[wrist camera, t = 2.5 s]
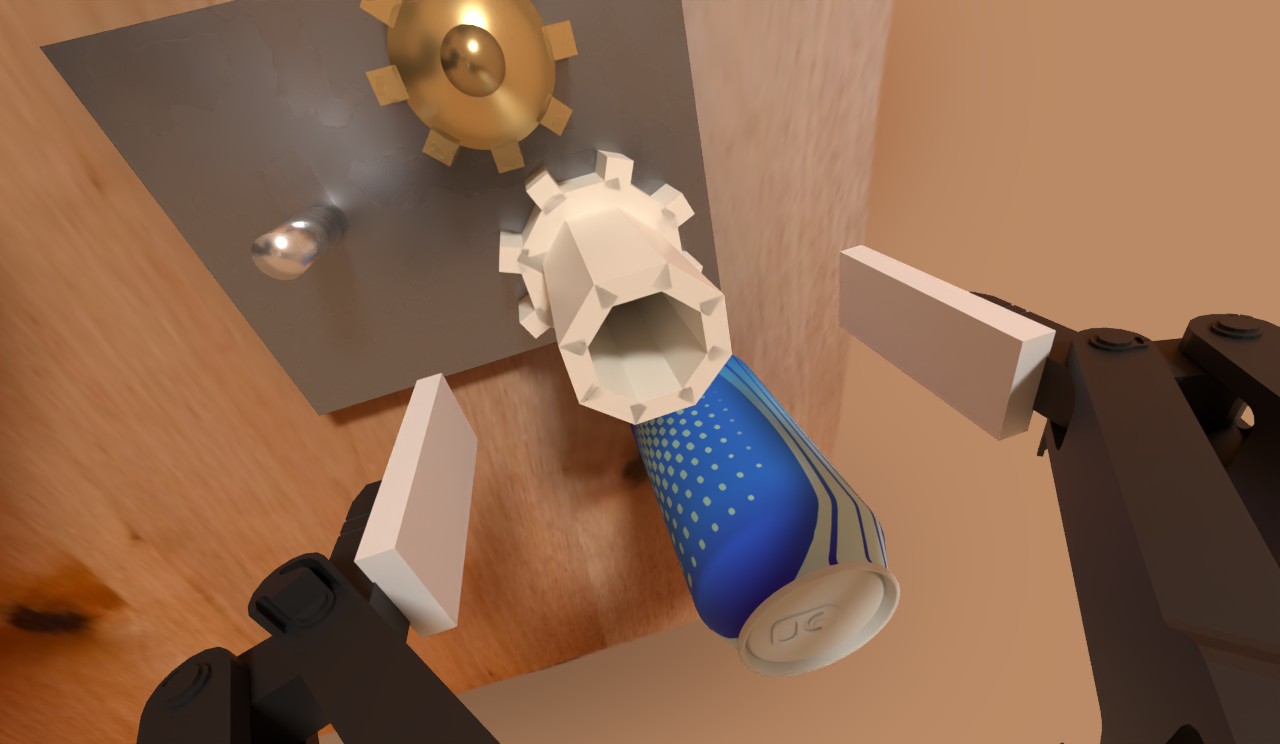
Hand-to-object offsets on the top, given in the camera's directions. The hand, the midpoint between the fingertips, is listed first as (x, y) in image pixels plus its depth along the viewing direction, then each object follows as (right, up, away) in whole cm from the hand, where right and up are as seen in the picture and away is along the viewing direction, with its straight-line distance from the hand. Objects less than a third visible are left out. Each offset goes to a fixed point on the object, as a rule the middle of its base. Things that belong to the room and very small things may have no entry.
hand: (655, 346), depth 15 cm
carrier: (-9, +8, +7) cm, 13 cm away
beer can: (+3, -2, +16) cm, 16 cm away
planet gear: (-3, +5, +8) cm, 10 cm away
